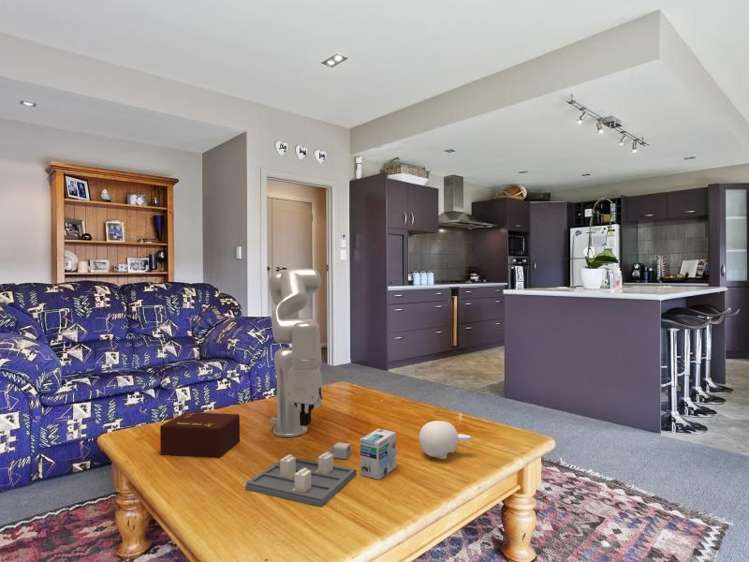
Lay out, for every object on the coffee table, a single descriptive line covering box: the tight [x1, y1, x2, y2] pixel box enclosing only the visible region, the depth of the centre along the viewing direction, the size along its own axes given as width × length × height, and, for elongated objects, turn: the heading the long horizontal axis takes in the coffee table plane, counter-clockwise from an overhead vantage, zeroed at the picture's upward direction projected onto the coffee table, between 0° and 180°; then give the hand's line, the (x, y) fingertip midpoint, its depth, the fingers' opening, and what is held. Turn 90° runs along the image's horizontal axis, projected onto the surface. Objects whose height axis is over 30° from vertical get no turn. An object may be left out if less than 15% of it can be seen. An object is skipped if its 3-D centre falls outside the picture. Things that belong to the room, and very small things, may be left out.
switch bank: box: [244, 457, 357, 508], centre depth 127 cm, size 24×20×2 cm
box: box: [159, 411, 241, 459], centre depth 153 cm, size 21×16×10 cm
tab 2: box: [295, 468, 311, 493], centre depth 120 cm, size 3×3×5 cm
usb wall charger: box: [327, 442, 352, 460], centre depth 145 cm, size 4×7×4 cm, turn 71°
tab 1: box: [279, 454, 297, 477], centre depth 129 cm, size 3×3×5 cm
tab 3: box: [317, 451, 334, 474], centre depth 131 cm, size 3×3×5 cm
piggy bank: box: [418, 420, 472, 460], centre depth 145 cm, size 12×12×15 cm
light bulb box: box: [359, 428, 397, 481], centre depth 134 cm, size 11×7×11 cm, turn 148°
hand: (305, 424), depth 134 cm, fingers closed
